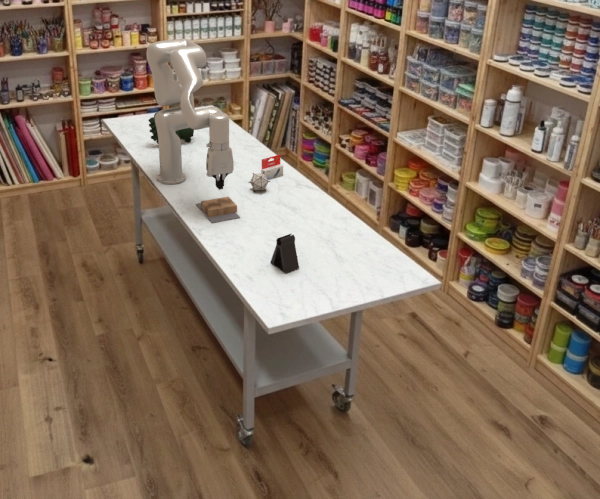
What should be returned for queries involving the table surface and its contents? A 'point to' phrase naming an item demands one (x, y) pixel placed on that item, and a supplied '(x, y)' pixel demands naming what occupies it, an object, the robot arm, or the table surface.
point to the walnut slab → (218, 206)
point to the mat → (220, 217)
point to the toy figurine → (182, 134)
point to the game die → (259, 181)
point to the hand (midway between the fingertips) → (219, 188)
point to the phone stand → (285, 254)
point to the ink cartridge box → (272, 167)
